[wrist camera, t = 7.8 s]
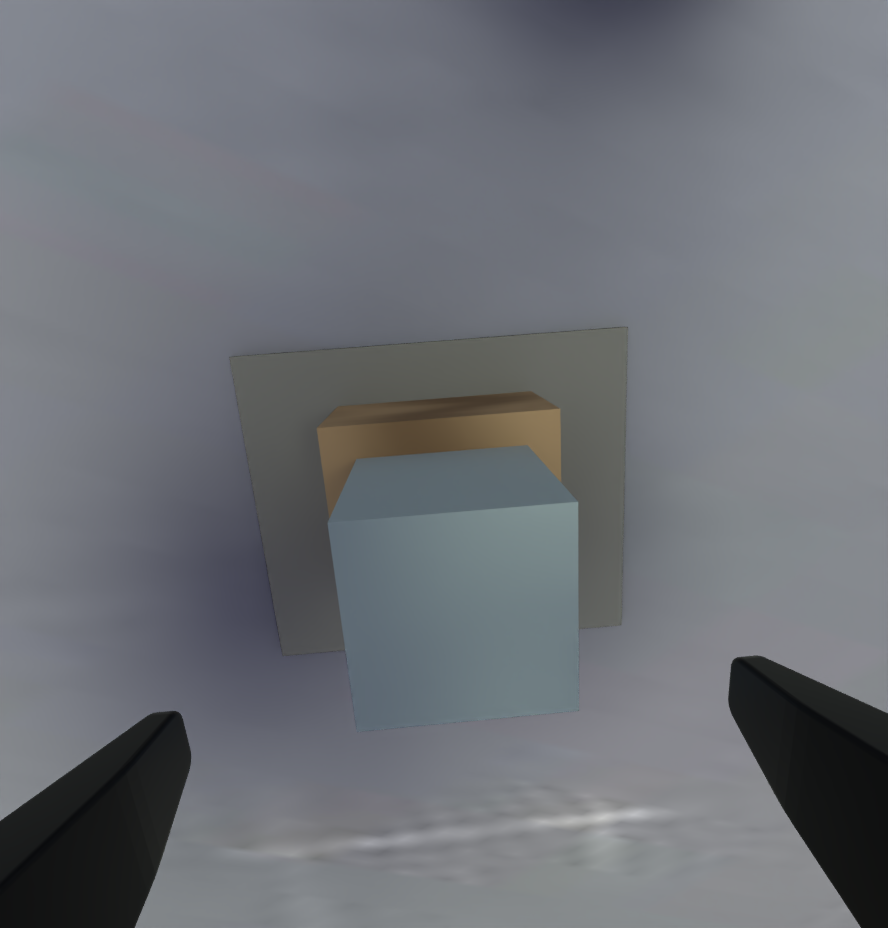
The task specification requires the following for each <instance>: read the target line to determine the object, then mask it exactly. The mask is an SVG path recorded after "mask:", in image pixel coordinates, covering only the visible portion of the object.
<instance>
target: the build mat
mask: <svg viewBox="0 0 888 928" xmlns="http://www.w3.org/2000/svg"><path fill="white" fill-rule="evenodd" d="M627 337H628V327H618V328H605V329H591V330H578V331H565V332H552V333H538V334H525V335H512V336H499V337H486V338H472V339H459V340H446V341H433V342H419V343H406V344H393V345H380V346H367V347H353V348H340V349H327V350H314V351H300V352H287V353H274V354H261V355H248V356H234V357H229V358H230V364H231V369H232V375H233V380H234V386H235V392H236V397H237V403H238V409H239V414H240V420H241V425H242V431H243V437H244V442H245V448H246V453H247V459H248V465H249V470H250V476H251V481H252V487H253V493H254V498H255V504H256V509H257V515H258V521H259V526H260V532H261V538H262V543H263V549H264V554H265V560H266V566H267V571H268V577H269V582H270V588H271V594H272V599H273V605H274V610H275V616H276V622H277V627H278V633H279V638H280V644H281V650H282V655H283V656H289V655H300V654H311V653H322V652H333V651H344V650H345V644H344V637H343V630H342V623H341V616H340V609H339V602H338V594H337V587H336V580H335V573H334V566H333V559H332V552H331V544H330V537H329V530H328V521H329V513H328V506H327V499H326V491H325V484H324V477H323V470H322V463H321V456H320V448H319V441H318V434H317V427H318V426H319V425H320V424H321V423H322V422H323V421H324V420H325V419H326V418H327V417H328V416H329V415H330V414H331V413H332V412H333V411H334V410H335V409H336V408H337V407H338V406H349V405H362V404H375V403H387V402H400V401H413V400H425V399H438V398H451V397H464V396H476V395H489V394H502V393H515V392H527V391H532V392H533V393H535V394H537V395H538V396H540V397H542V398H543V399H545V400H547V401H548V402H550V403H552V404H553V405H555V406H557V407H558V408H560V424H561V483H562V484H563V485H564V486H565V488H566V489H567V490H568V491H569V492H570V493H571V494H572V495H573V497H574V498H575V499H576V500H577V501H578V608H579V629H585V628H596V627H607V626H618V625H621V620H622V573H623V526H624V479H625V432H626V384H627Z"/></svg>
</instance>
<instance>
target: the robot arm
mask: <svg viewBox="0 0 888 928" xmlns="http://www.w3.org/2000/svg"><path fill="white" fill-rule="evenodd" d="M728 702H729V708H730V711H731V714H732V716H733V718H734V720H735V722H736V723H737V725H738V727H739V729H740V731H741V733H742V735H743V736H744V738H745V740H746V742H747V744H748V746H749V748H750V749H751V751H752V753H753V755H754V757H755V759H756V760H757V762H758V764H759V766H760V768H761V770H762V772H763V773H764V775H765V777H766V779H767V781H768V783H769V785H770V786H771V788H772V790H773V792H774V794H775V796H776V797H777V799H778V801H779V802H780V804H781V806H782V808H783V809H784V811H785V813H786V814H787V816H788V817H789V819H790V821H791V822H792V824H793V825H794V827H795V828H796V830H797V831H798V833H799V834H800V836H801V837H802V839H803V840H804V842H805V844H806V845H807V847H808V848H809V850H810V851H811V853H812V854H813V856H814V857H815V859H816V860H817V862H818V863H819V865H820V866H821V868H822V869H823V871H824V872H825V874H826V875H827V877H828V878H829V880H830V881H831V883H832V884H833V886H834V887H835V889H836V890H837V892H838V893H839V895H840V896H841V898H842V899H843V901H844V903H845V904H846V906H847V907H848V909H849V910H850V912H851V913H852V915H853V916H854V918H855V919H856V921H857V922H858V924H859V925H860V927H861V928H888V713H886V712H883V711H881V710H879V709H877V708H875V707H872V706H870V705H868V704H866V703H864V702H861V701H859V700H857V699H855V698H853V697H850V696H848V695H846V694H844V693H842V692H839V691H837V690H835V689H833V688H831V687H828V686H826V685H824V684H822V683H820V682H817V681H815V680H813V679H811V678H809V677H806V676H804V675H802V674H800V673H798V672H795V671H793V670H791V669H789V668H787V667H784V666H782V665H780V664H778V663H776V662H773V661H771V660H769V659H767V658H765V657H762V656H745V657H737V658H735V659H734V660H733V662H732V664H731V672H730V684H729V696H728ZM190 765H191V750H190V746H189V742H188V738H187V734H186V730H185V726H184V722H183V718H182V716H181V714H180V713H179V712H177V711H167V712H157V713H152V714H150V715H148V716H147V717H145V718H144V719H142V720H141V721H140V722H138V723H137V724H135V725H134V726H133V727H131V728H130V729H128V730H127V731H126V732H124V733H123V734H121V735H120V736H119V737H117V738H116V739H114V740H113V741H112V742H110V743H109V744H107V745H106V746H105V747H103V748H102V749H100V750H99V751H98V752H96V753H95V754H93V755H92V756H91V757H89V758H88V759H86V760H85V761H84V762H82V763H81V764H79V765H78V766H77V767H75V768H74V769H72V770H71V771H70V772H68V773H67V774H65V775H64V776H63V777H61V778H60V779H58V780H57V781H56V782H54V783H53V784H51V785H50V786H48V787H47V788H46V789H44V790H43V791H41V792H40V793H39V794H37V795H36V796H34V797H33V798H32V799H30V800H29V801H27V802H26V803H25V804H23V805H22V806H20V807H19V808H18V809H16V810H15V811H13V812H12V813H11V814H9V815H8V816H6V817H5V818H4V819H2V820H1V821H0V928H135V925H136V923H137V921H138V918H139V916H140V913H141V911H142V908H143V906H144V904H145V901H146V899H147V896H148V894H149V891H150V889H151V886H152V884H153V881H154V879H155V876H156V873H157V870H158V868H159V865H160V862H161V859H162V856H163V853H164V849H165V846H166V843H167V840H168V837H169V833H170V830H171V827H172V824H173V821H174V818H175V814H176V811H177V808H178V805H179V802H180V798H181V795H182V792H183V789H184V786H185V782H186V779H187V776H188V773H189V769H190Z"/></svg>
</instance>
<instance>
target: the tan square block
mask: <svg viewBox="0 0 888 928" xmlns="http://www.w3.org/2000/svg"><path fill="white" fill-rule="evenodd" d="M317 434H318V441H319V448H320V456H321V463H322V470H323V477H324V484H325V491H326V499H327V506H328V513H329V518H330V516H331V514H332V512H333V510H334V507H335V505H336V503H337V501H338V499H339V496H340V494H341V492H342V490H343V488H344V485H345V483H346V481H347V479H348V477H349V474H350V472H351V470H352V468H353V466H354V463H355V461H356V459H362V458H374V457H387V456H399V455H411V454H424V453H436V452H448V451H461V450H473V449H485V448H498V447H510V446H522V445H528V446H529V447H530V448H531V450H532V451H533V452H534V453H535V454H536V455H537V456H538V457H539V459H540V460H541V461H542V462H543V463H544V464H545V465H546V466H547V467H548V469H549V470H550V471H551V472H552V473H553V474H554V475H555V476H556V478H557V479H558V480H559V481H560V482H561V424H560V408H558V407H557V406H555V405H553V404H552V403H550V402H548V401H547V400H545V399H543V398H542V397H540V396H538V395H537V394H535V393H533V392H532V391H527V392H515V393H502V394H489V395H476V396H464V397H451V398H438V399H425V400H413V401H400V402H387V403H375V404H362V405H349V406H338V407H337V408H336V409H335V410H334V411H333V412H332V413H331V414H330V415H329V416H328V417H327V418H326V419H325V420H324V421H323V422H322V423H321V424H320V425H319V426H318V427H317Z"/></svg>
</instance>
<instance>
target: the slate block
mask: <svg viewBox="0 0 888 928" xmlns="http://www.w3.org/2000/svg"><path fill="white" fill-rule="evenodd" d="M328 530H329V537H330V544H331V552H332V559H333V566H334V573H335V580H336V587H337V594H338V602H339V609H340V616H341V623H342V630H343V637H344V644H345V651H346V659H347V666H348V673H349V680H350V687H351V694H352V701H353V709H354V716H355V723H356V730H357V732H362V731H372V730H383V729H393V728H404V727H414V726H425V725H435V724H446V723H456V722H467V721H477V720H488V719H498V718H509V717H519V716H530V715H540V714H551V713H561V712H572V711H579V608H578V501H577V500H576V499H575V498H574V497H573V495H572V494H571V493H570V492H569V491H568V490H567V489H566V488H565V486H564V485H563V484H562V483H561V482H560V481H559V480H558V479H557V478H556V476H555V475H554V474H553V473H552V472H551V471H550V470H549V469H548V467H547V466H546V465H545V464H544V463H543V462H542V461H541V460H540V459H539V457H538V456H537V455H536V454H535V453H534V452H533V451H532V450H531V448H530V447H529V446H528V445H522V446H510V447H498V448H485V449H473V450H461V451H448V452H436V453H424V454H411V455H399V456H387V457H374V458H362V459H356V461H355V463H354V466H353V468H352V470H351V472H350V474H349V477H348V479H347V481H346V483H345V485H344V488H343V490H342V492H341V494H340V496H339V499H338V501H337V503H336V505H335V507H334V510H333V512H332V514H331V516H330V518H329V521H328Z"/></svg>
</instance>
